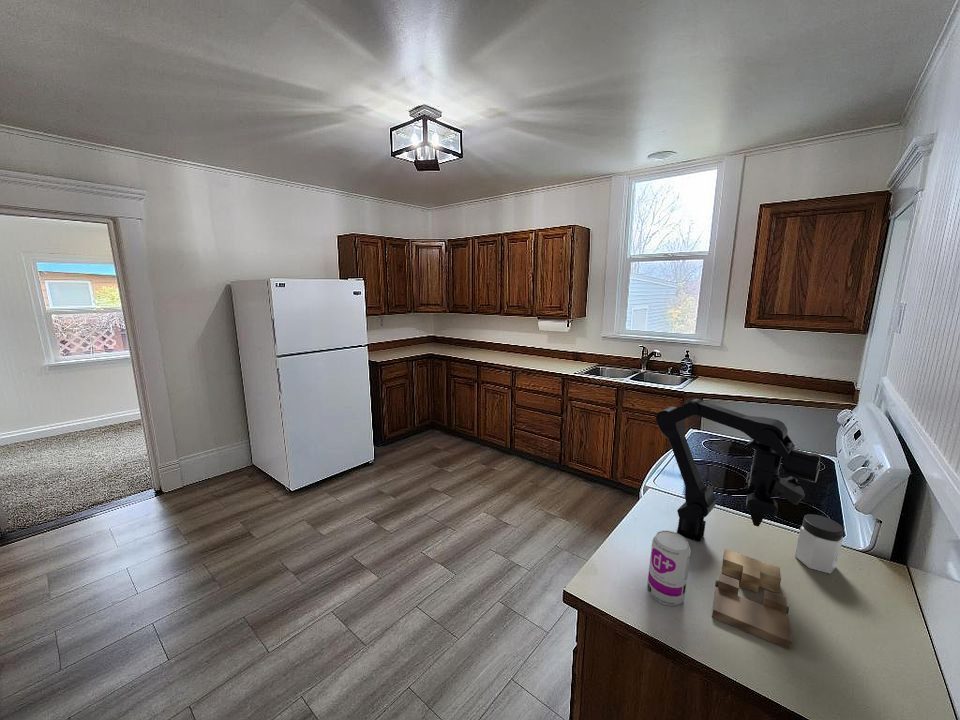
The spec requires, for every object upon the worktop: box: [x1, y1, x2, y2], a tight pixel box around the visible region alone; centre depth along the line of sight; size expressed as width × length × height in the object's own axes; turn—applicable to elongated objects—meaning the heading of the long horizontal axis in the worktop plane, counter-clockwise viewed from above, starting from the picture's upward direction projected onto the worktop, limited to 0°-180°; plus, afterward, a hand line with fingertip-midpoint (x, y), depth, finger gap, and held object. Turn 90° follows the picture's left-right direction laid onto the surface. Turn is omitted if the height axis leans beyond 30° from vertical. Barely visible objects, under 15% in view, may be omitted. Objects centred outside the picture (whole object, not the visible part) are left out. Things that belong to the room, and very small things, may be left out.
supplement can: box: [646, 530, 692, 607], centre depth 93 cm, size 8×8×15 cm
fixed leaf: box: [711, 573, 792, 650], centre depth 89 cm, size 14×11×4 cm
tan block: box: [721, 548, 782, 594], centre depth 99 cm, size 12×8×4 cm, turn 56°
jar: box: [794, 513, 845, 574], centre depth 105 cm, size 9×8×12 cm
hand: (755, 520), depth 104 cm, fingers open, 5 cm apart
